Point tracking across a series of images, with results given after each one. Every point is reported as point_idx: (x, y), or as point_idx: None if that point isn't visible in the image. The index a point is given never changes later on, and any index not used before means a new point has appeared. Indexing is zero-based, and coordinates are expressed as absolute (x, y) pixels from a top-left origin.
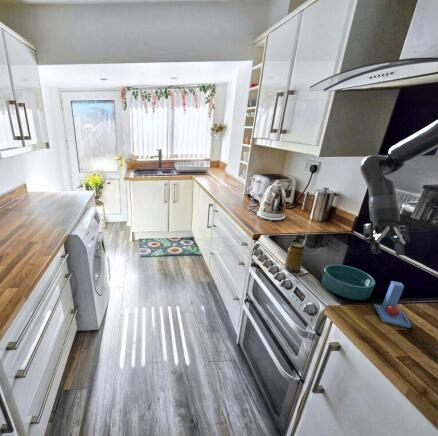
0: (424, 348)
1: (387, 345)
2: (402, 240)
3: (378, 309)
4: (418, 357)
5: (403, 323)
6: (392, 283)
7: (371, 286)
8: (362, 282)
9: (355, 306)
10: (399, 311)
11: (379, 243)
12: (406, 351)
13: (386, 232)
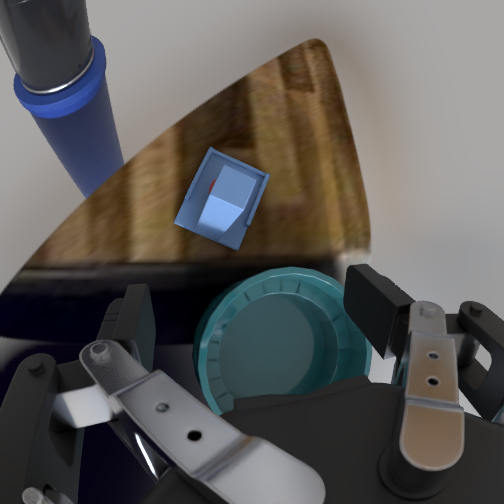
0: (234, 97)
1: (310, 113)
2: (109, 369)
3: (254, 213)
4: (270, 83)
5: (218, 161)
6: (248, 197)
7: (256, 275)
8: (218, 356)
9: (299, 246)
10: (216, 178)
11: (396, 304)
12: (282, 96)
13: (407, 388)
